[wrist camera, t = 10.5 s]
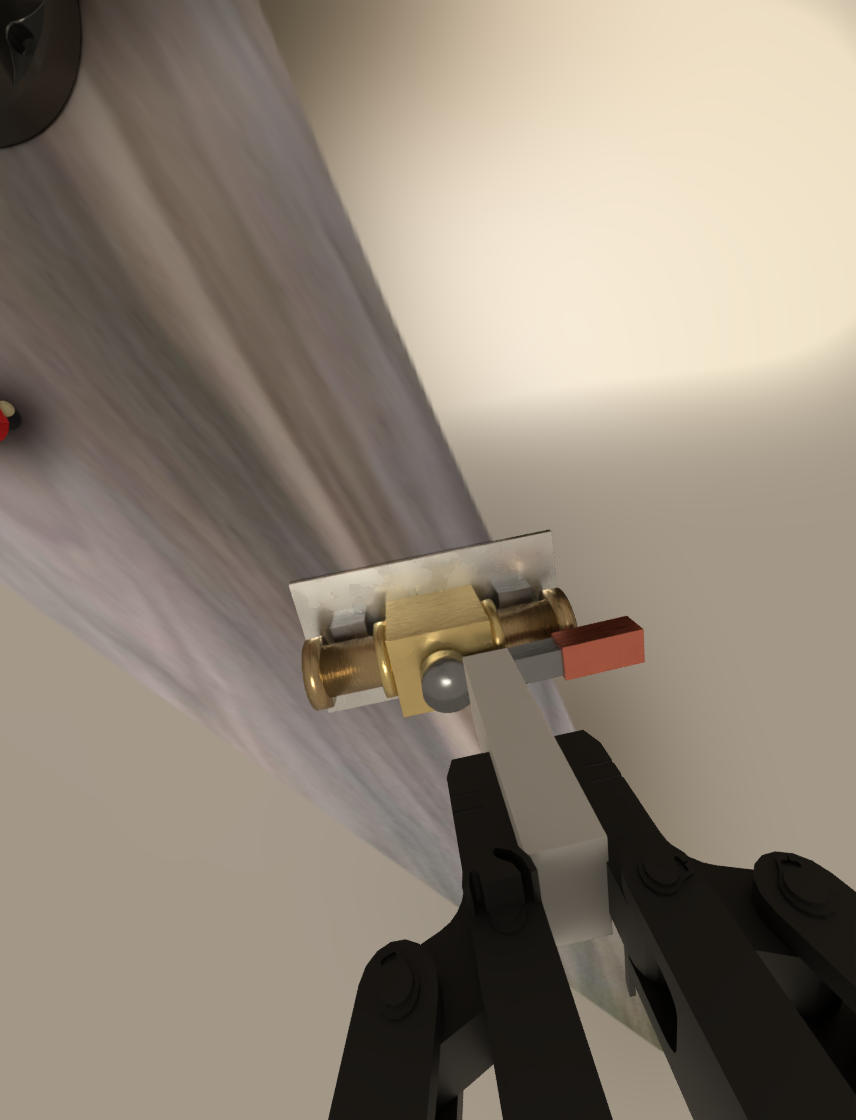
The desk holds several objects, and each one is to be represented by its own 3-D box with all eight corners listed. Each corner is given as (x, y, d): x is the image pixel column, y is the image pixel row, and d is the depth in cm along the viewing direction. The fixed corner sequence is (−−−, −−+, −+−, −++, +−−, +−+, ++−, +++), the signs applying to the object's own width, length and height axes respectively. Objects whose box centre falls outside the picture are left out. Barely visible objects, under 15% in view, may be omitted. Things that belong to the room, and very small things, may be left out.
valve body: (329, 709, 42) (317, 771, 35) (290, 582, 38) (265, 622, 30) (560, 659, 43) (598, 710, 35) (549, 529, 38) (589, 556, 31)
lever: (425, 699, 33) (428, 719, 31) (415, 656, 32) (417, 674, 29) (627, 652, 33) (644, 668, 31) (625, 607, 32) (643, 621, 30)
